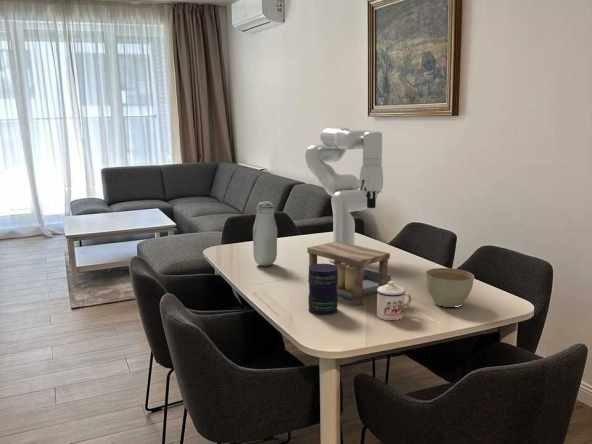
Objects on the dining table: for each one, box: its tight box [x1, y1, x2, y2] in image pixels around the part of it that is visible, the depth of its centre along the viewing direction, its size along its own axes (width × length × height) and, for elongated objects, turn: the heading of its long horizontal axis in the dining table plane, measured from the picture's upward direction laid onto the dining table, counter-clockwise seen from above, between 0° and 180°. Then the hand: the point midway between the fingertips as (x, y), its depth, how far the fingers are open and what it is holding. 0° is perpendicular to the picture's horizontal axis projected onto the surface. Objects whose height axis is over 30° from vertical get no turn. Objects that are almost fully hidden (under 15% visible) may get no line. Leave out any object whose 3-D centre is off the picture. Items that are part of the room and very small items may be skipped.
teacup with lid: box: [376, 280, 413, 321], centre depth 184 cm, size 12×9×12 cm
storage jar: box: [307, 263, 339, 317], centre depth 189 cm, size 10×10×15 cm
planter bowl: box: [425, 267, 475, 308], centre depth 195 cm, size 16×16×11 cm
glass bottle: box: [252, 200, 278, 267], centre depth 244 cm, size 10×10×28 cm
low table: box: [306, 241, 391, 307], centre depth 208 cm, size 16×26×16 cm, turn 41°
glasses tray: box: [333, 263, 392, 301], centre depth 212 cm, size 22×13×10 cm, turn 132°
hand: (371, 207), depth 231 cm, fingers closed
